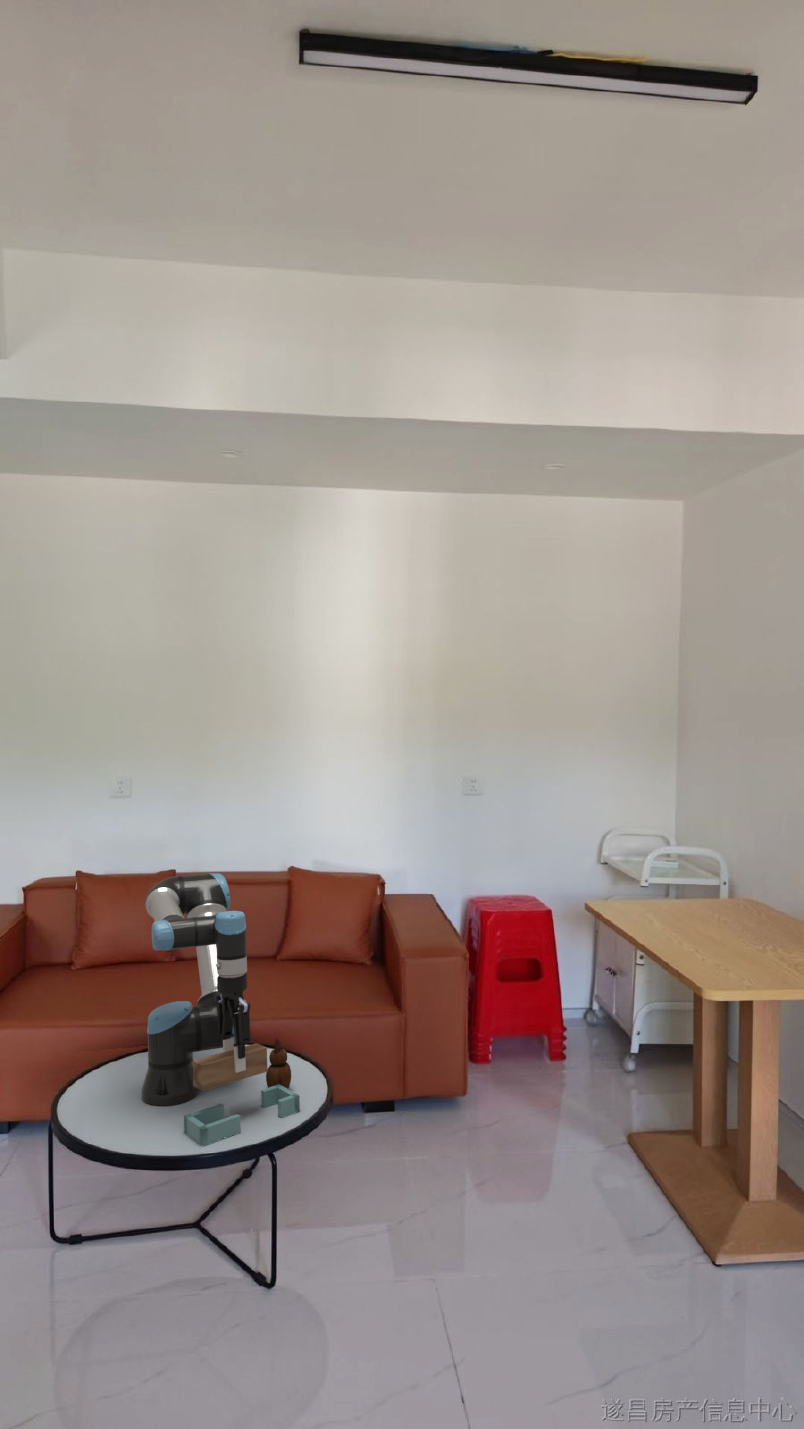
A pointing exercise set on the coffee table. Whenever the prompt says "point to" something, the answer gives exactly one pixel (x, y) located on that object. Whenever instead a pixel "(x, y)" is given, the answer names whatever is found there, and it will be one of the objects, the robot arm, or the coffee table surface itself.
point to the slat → (228, 1067)
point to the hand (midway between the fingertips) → (234, 1067)
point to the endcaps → (235, 1116)
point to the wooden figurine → (278, 1067)
